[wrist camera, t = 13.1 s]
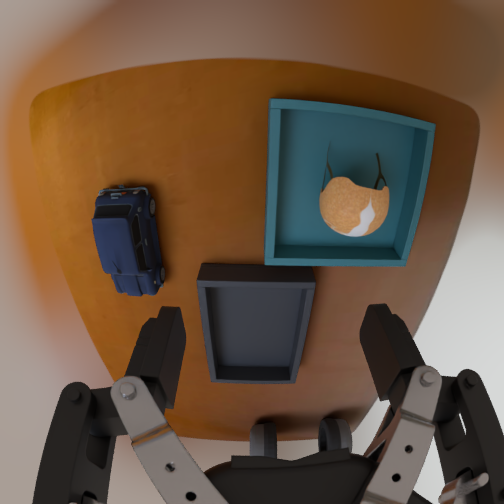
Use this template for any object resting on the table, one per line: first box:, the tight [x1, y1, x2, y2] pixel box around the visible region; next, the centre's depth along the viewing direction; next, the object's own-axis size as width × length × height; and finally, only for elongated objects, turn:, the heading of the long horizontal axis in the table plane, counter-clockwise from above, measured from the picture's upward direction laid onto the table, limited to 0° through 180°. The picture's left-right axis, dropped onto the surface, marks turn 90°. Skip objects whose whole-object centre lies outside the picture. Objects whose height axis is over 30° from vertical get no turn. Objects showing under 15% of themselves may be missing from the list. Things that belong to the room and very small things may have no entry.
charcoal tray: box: [197, 264, 316, 384], centre depth 33 cm, size 18×12×3 cm, turn 179°
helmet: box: [319, 141, 389, 237], centre depth 23 cm, size 6×7×8 cm
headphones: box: [250, 418, 352, 458], centre depth 41 cm, size 19×11×20 cm, turn 91°
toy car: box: [92, 185, 165, 296], centre depth 26 cm, size 6×12×6 cm, turn 179°
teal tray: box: [264, 98, 436, 266], centre depth 24 cm, size 15×15×3 cm
